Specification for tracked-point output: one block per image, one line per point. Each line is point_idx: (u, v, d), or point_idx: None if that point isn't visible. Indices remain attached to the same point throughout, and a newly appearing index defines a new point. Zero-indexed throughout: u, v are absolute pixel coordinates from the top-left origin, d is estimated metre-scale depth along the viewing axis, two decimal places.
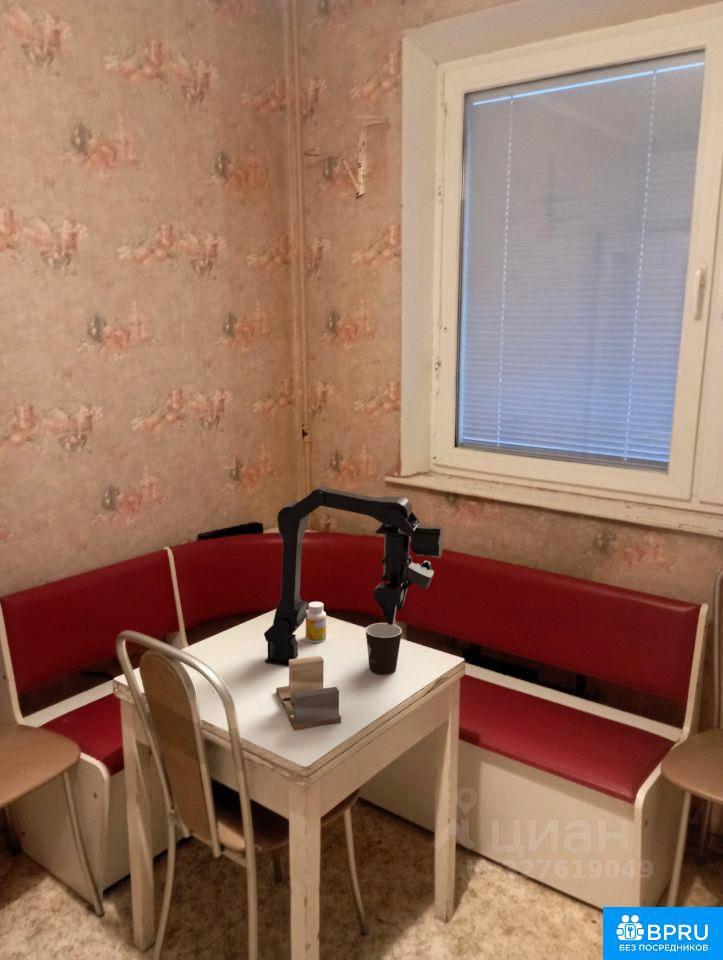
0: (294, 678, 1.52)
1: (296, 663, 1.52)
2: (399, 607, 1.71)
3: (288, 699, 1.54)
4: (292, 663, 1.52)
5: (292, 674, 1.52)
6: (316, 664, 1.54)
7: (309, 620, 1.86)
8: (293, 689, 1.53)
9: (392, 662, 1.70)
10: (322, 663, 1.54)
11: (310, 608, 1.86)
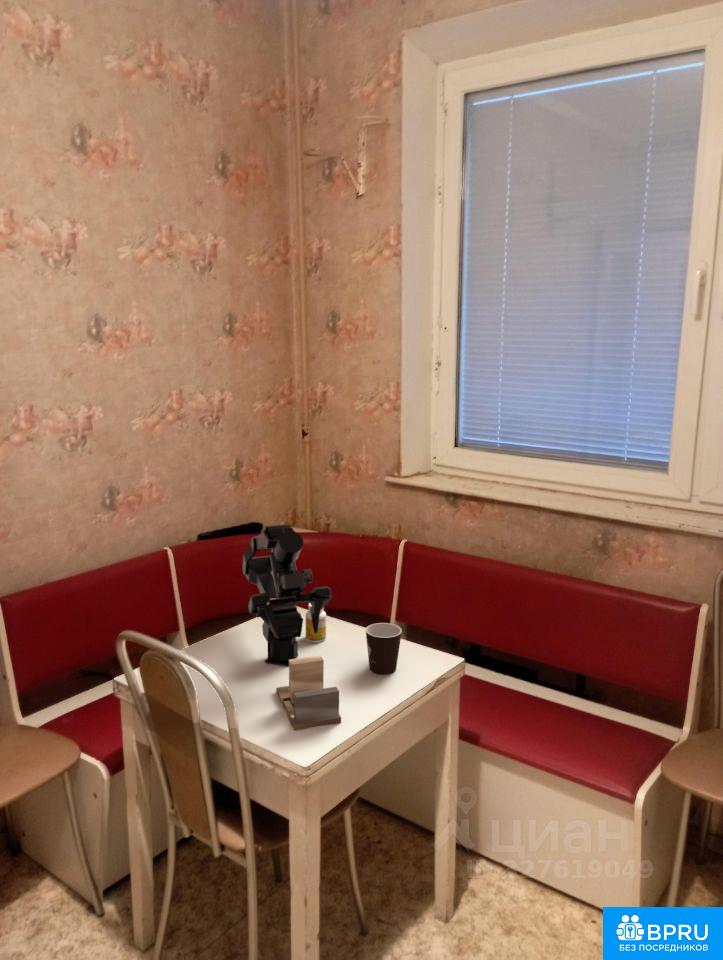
0: (294, 678, 1.52)
1: (296, 663, 1.52)
2: (314, 629, 1.63)
3: (288, 699, 1.54)
4: (292, 663, 1.52)
5: (292, 674, 1.52)
6: (316, 664, 1.54)
7: (309, 620, 1.86)
8: (293, 689, 1.53)
9: (392, 662, 1.70)
10: (322, 663, 1.54)
11: None
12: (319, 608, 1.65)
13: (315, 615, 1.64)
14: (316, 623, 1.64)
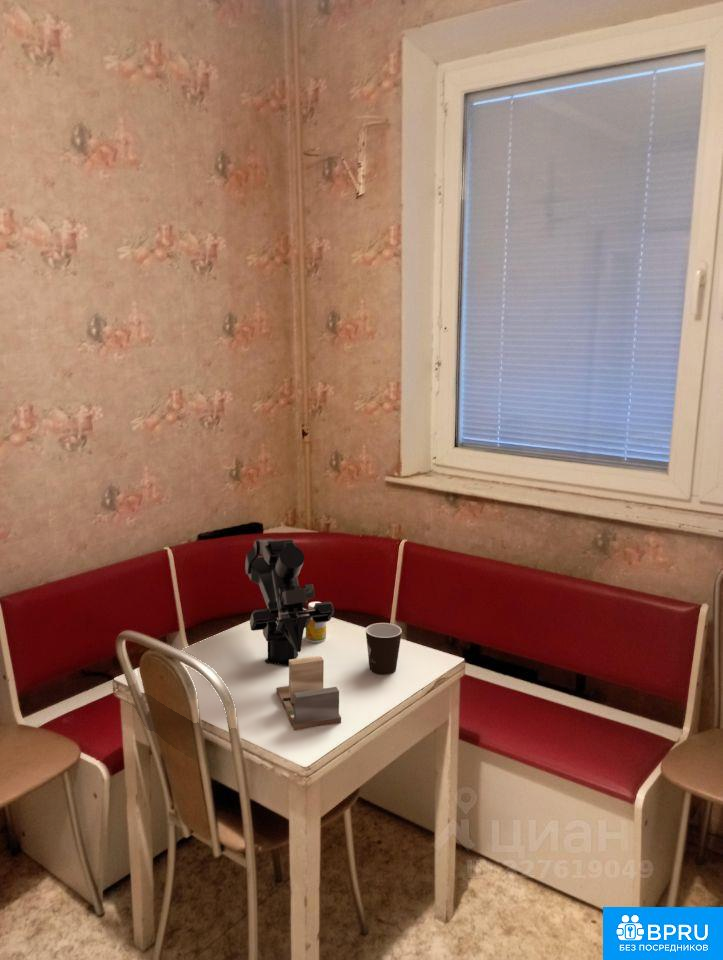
0: (294, 678, 1.52)
1: (296, 663, 1.52)
2: None
3: (288, 699, 1.54)
4: (292, 663, 1.52)
5: (292, 674, 1.52)
6: (316, 664, 1.54)
7: None
8: (293, 689, 1.53)
9: (392, 662, 1.70)
10: (322, 663, 1.54)
11: (310, 608, 1.86)
12: (303, 626, 1.62)
13: (298, 633, 1.61)
14: (299, 641, 1.60)
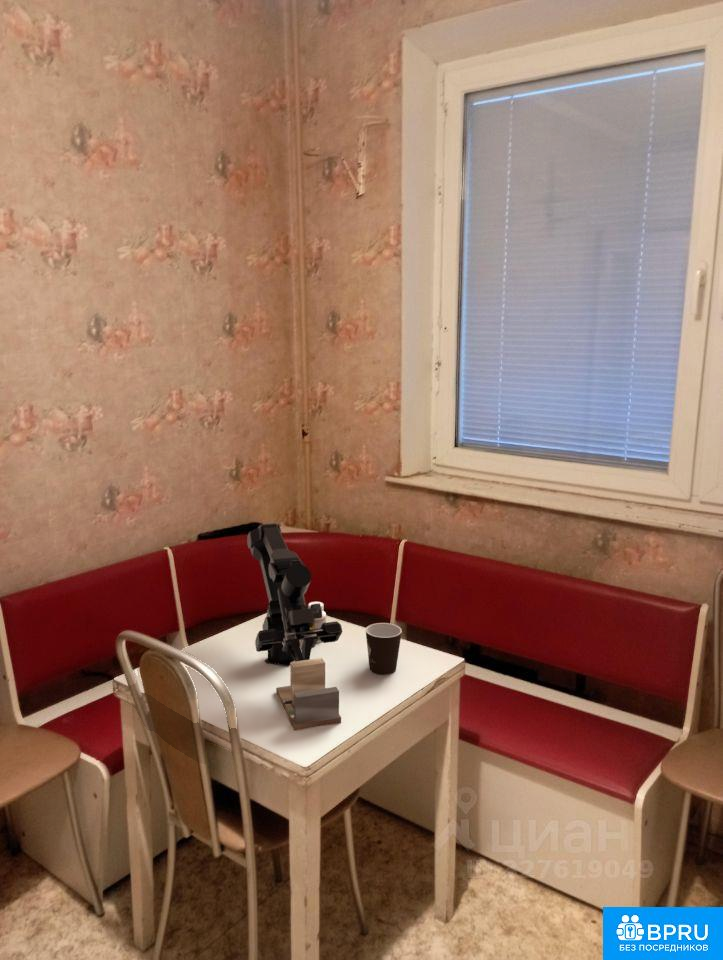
0: (296, 681, 1.51)
1: (297, 666, 1.51)
2: None
3: (289, 702, 1.53)
4: (293, 666, 1.51)
5: (293, 677, 1.51)
6: (318, 666, 1.52)
7: None
8: (294, 692, 1.52)
9: (392, 662, 1.70)
10: (324, 666, 1.53)
11: None
12: (310, 647, 1.57)
13: (306, 654, 1.56)
14: None
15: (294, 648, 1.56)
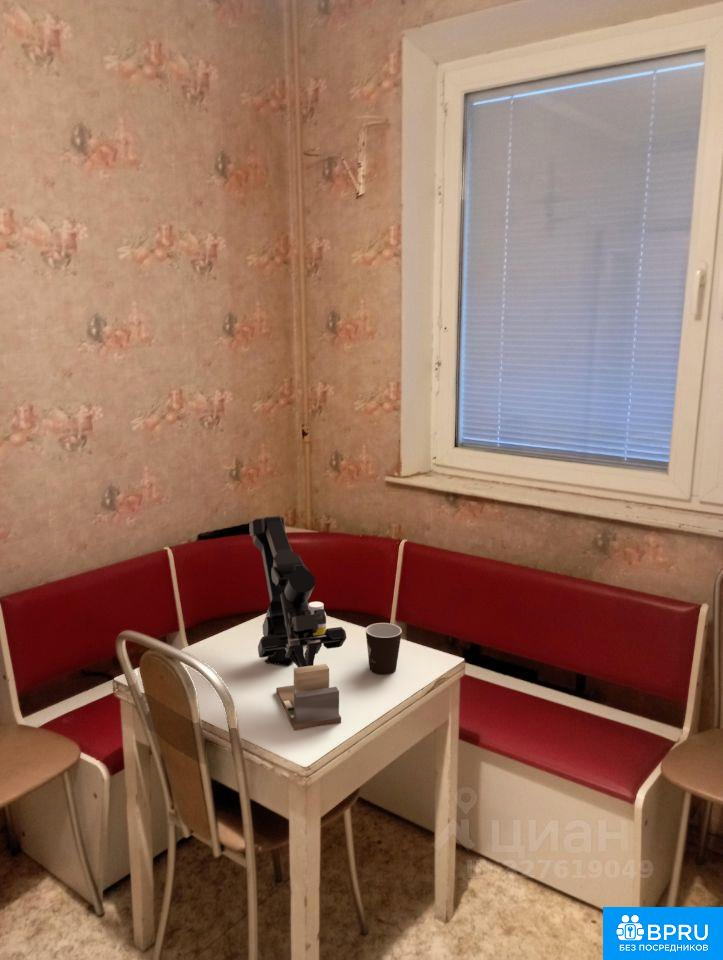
0: (299, 687, 1.49)
1: (301, 672, 1.48)
2: None
3: (293, 709, 1.50)
4: (297, 672, 1.48)
5: (297, 683, 1.48)
6: (322, 672, 1.50)
7: None
8: None
9: (392, 662, 1.70)
10: (328, 672, 1.50)
11: (310, 608, 1.86)
12: (313, 653, 1.54)
13: (309, 661, 1.53)
14: None
15: (297, 654, 1.53)
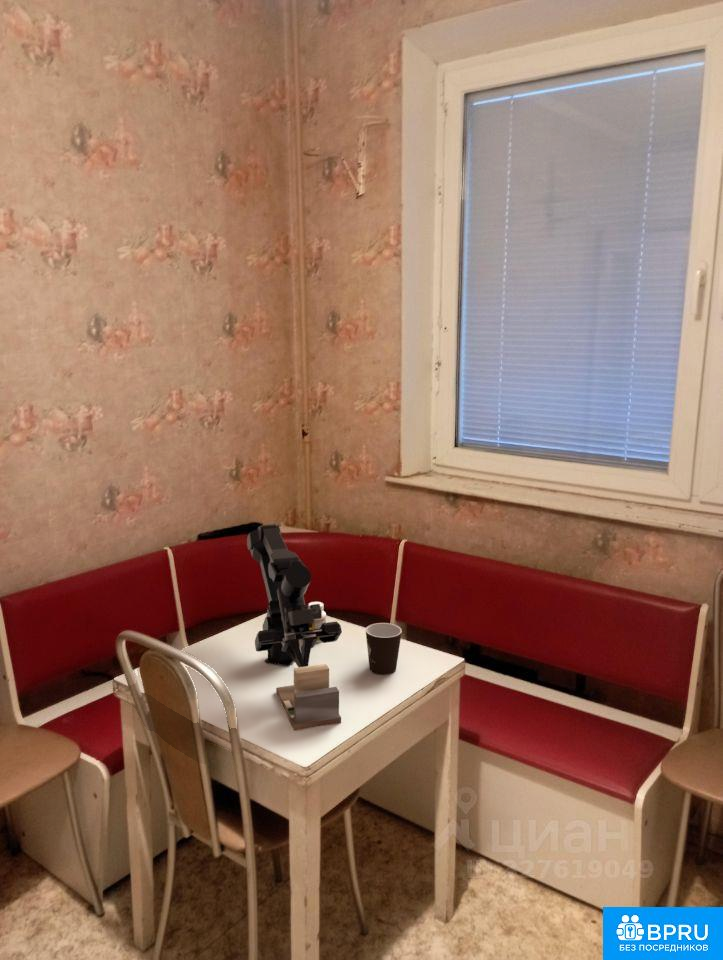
0: (299, 687, 1.49)
1: (301, 672, 1.48)
2: None
3: (293, 709, 1.50)
4: (297, 672, 1.48)
5: (297, 683, 1.48)
6: (322, 672, 1.50)
7: None
8: None
9: (392, 662, 1.70)
10: (328, 672, 1.50)
11: None
12: (309, 647, 1.57)
13: (305, 655, 1.56)
14: (306, 663, 1.56)
15: (293, 648, 1.56)
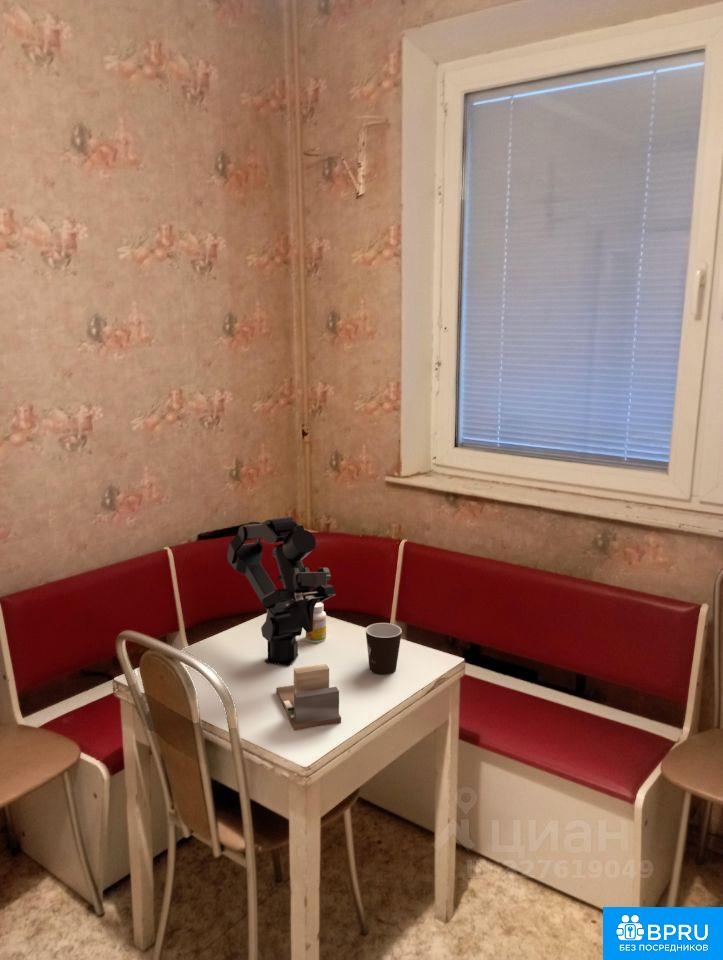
0: (299, 687, 1.49)
1: (301, 672, 1.48)
2: None
3: (293, 709, 1.50)
4: (297, 672, 1.48)
5: (297, 683, 1.48)
6: (322, 672, 1.50)
7: None
8: None
9: (392, 662, 1.70)
10: (328, 672, 1.50)
11: None
12: (313, 607, 1.65)
13: (310, 614, 1.64)
14: (311, 622, 1.64)
15: (302, 608, 1.62)
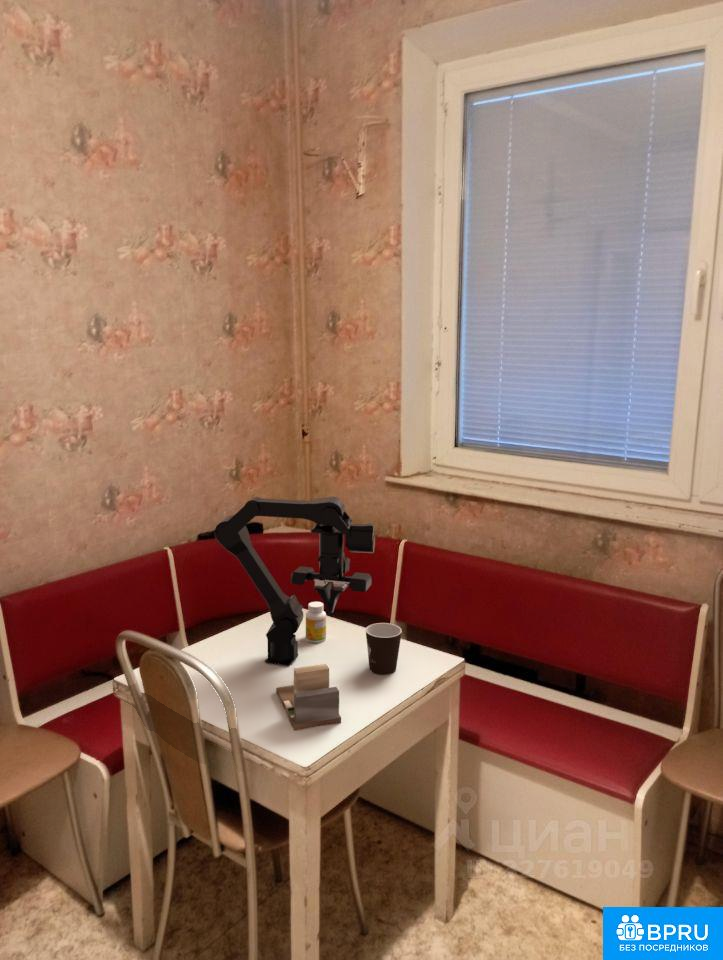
0: (299, 687, 1.49)
1: (301, 672, 1.48)
2: None
3: (293, 709, 1.50)
4: (297, 672, 1.48)
5: (297, 683, 1.48)
6: (322, 672, 1.50)
7: (309, 620, 1.86)
8: None
9: (392, 662, 1.70)
10: (328, 672, 1.50)
11: (310, 608, 1.86)
12: None
13: None
14: None
15: None
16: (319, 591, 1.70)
